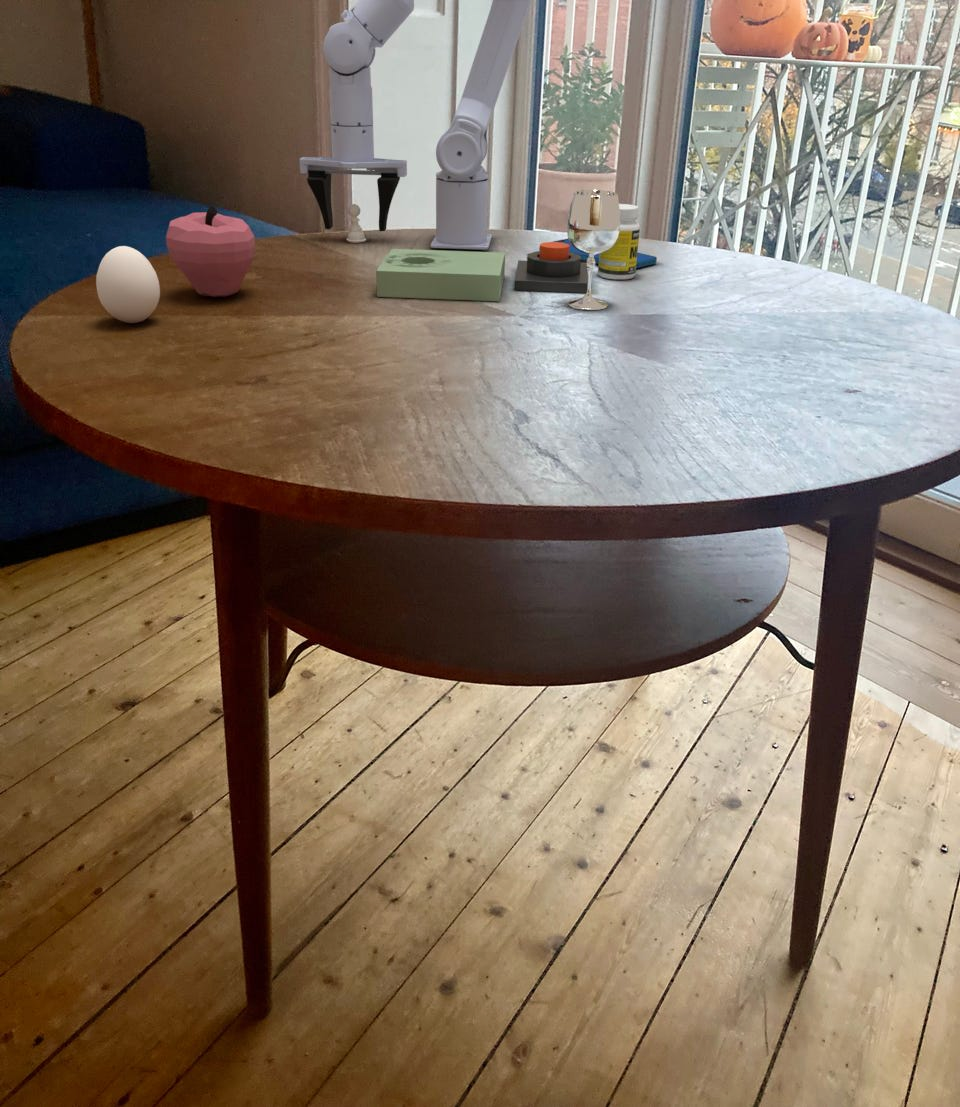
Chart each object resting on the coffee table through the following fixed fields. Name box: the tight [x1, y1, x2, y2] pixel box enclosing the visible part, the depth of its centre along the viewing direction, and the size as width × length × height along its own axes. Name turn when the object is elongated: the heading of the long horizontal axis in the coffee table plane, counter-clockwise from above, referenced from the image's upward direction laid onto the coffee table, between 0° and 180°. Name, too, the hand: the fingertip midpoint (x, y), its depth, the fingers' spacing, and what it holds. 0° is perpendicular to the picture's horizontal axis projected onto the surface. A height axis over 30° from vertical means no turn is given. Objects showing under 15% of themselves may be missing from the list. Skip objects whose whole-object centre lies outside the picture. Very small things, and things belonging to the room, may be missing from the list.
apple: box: [165, 205, 256, 298], centre depth 110 cm, size 10×9×10 cm
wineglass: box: [566, 189, 620, 311], centre depth 109 cm, size 6×6×12 cm
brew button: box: [538, 241, 570, 260], centre depth 120 cm, size 4×4×2 cm
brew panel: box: [514, 250, 588, 294], centre depth 121 cm, size 11×9×3 cm
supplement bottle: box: [597, 203, 641, 281], centre depth 123 cm, size 5×5×8 cm
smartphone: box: [552, 238, 658, 269], centre depth 133 cm, size 7×1×15 cm
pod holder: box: [375, 248, 506, 302], centre depth 117 cm, size 12×14×3 cm
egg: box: [95, 245, 161, 324], centre depth 100 cm, size 6×6×8 cm
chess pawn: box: [345, 203, 367, 244], centre depth 139 cm, size 3×3×5 cm
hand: (355, 229), depth 140 cm, fingers open, 7 cm apart
